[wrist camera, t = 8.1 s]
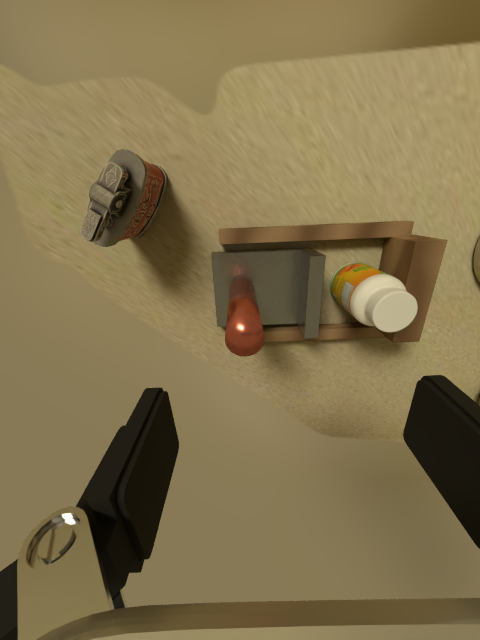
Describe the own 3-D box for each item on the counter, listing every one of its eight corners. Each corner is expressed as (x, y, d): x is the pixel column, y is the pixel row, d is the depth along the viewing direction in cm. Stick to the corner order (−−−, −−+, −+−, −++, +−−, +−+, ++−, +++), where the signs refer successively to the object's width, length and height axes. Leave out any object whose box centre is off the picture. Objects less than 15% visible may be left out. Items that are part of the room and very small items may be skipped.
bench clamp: (414, 220, 29) (452, 223, 24) (389, 331, 34) (415, 352, 29) (219, 228, 29) (216, 233, 24) (227, 338, 35) (225, 360, 29)
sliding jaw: (311, 248, 30) (363, 276, 17) (306, 319, 33) (346, 383, 21) (212, 252, 30) (195, 283, 18) (218, 322, 33) (207, 388, 21)
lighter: (145, 156, 26) (96, 128, 17) (175, 177, 27) (143, 162, 18) (114, 226, 29) (57, 235, 19) (142, 243, 29) (100, 260, 20)
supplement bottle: (378, 262, 31) (436, 285, 22) (366, 304, 33) (414, 340, 24) (333, 260, 30) (374, 281, 22) (325, 302, 33) (358, 338, 24)
